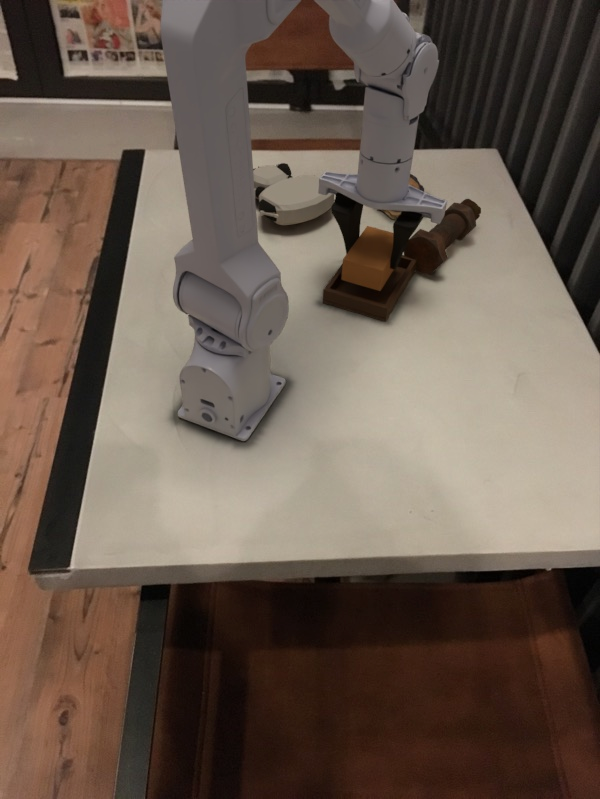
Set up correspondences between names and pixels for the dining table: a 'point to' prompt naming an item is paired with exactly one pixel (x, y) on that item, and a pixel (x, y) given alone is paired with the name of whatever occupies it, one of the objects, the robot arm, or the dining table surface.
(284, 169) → the robot toy
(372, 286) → the orange block
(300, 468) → the dining table surface
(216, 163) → the robot arm
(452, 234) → the bolt
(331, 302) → the frame
